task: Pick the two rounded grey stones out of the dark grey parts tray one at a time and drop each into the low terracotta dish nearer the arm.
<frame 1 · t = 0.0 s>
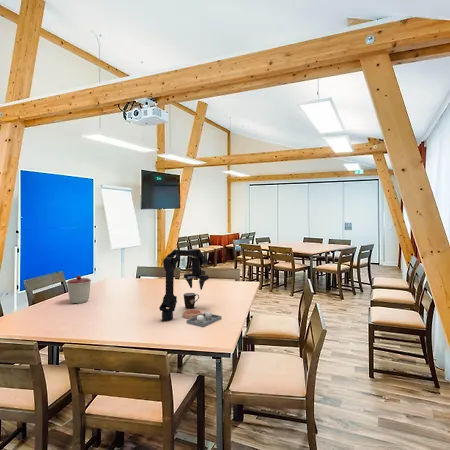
hand: (196, 288, 227), 15 cm above the table, fingers open, 9 cm apart
terracotta dish: (192, 316, 210), on the table
canister: (79, 302, 254), on the table
pebble light: (200, 322, 196), point 1 cm above the table, touching parts tray
coffee mug: (191, 308, 232), on the table
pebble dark: (208, 319, 203), point 1 cm above the table, touching parts tray
parts tray: (204, 322, 199), on the table
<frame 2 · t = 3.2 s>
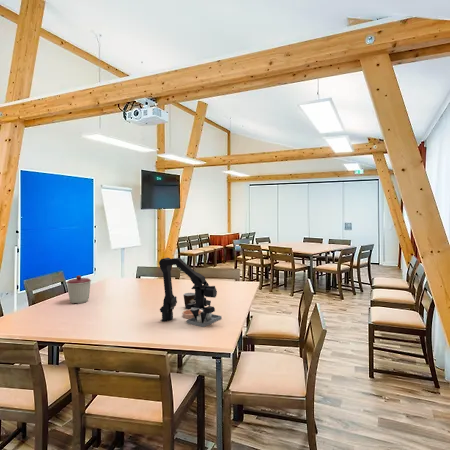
hand: (200, 321, 196), 1 cm above the table, fingers closed on pebble light, 4 cm apart
pebble light: (200, 322, 196), point 1 cm above the table, touching gripper, parts tray
everything else where it was.
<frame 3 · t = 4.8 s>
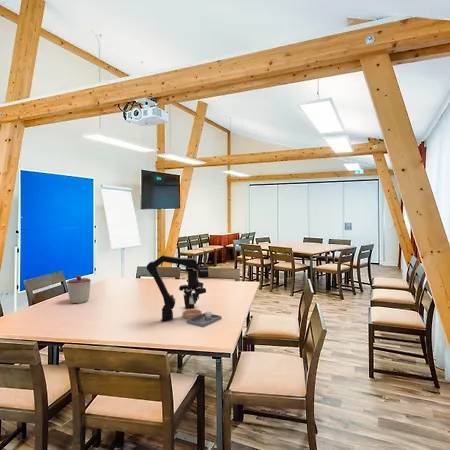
hand: (192, 302, 205), 11 cm above the table, fingers closed on pebble light, 4 cm apart
pebble light: (192, 303, 205), point 10 cm above the table, touching gripper
everything else where it was.
when the fingers open (4 cm above the table, at t = 6.4 s): pebble light drops 3 cm, resting on terracotta dish.
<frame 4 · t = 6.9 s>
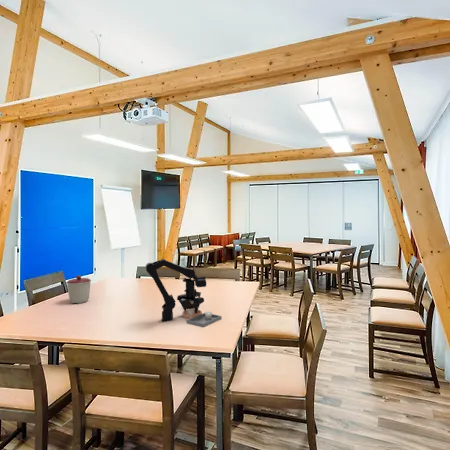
hand: (190, 312, 208), 4 cm above the table, fingers open, 9 cm apart
pebble light: (190, 316, 208), point 1 cm above the table, touching terracotta dish
everything else where it was.
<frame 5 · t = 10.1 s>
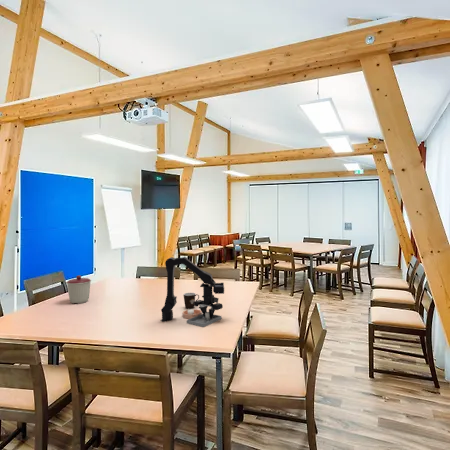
hand: (208, 318, 203), 1 cm above the table, fingers closed on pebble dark, 4 cm apart
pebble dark: (208, 319, 203), point 1 cm above the table, touching gripper, parts tray
everything else where it was.
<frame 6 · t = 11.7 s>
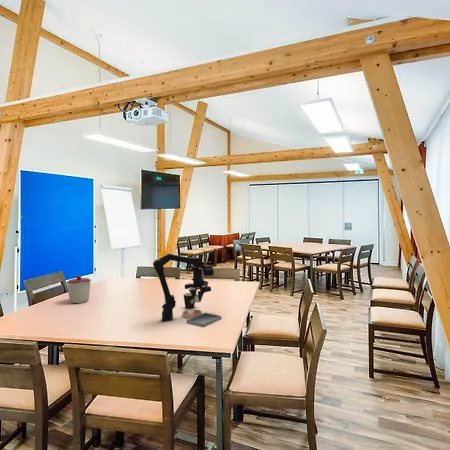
hand: (197, 300, 209), 11 cm above the table, fingers closed on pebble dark, 4 cm apart
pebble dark: (197, 301, 209), point 10 cm above the table, touching gripper
everything else where it was.
when the fingers open (4 cm above the table, at t = 13.4 s): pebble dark drops 2 cm, resting on terracotta dish.
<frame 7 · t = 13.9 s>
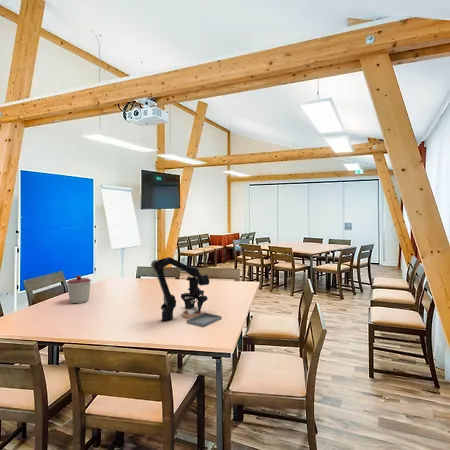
hand: (194, 310, 213), 4 cm above the table, fingers open, 9 cm apart
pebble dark: (194, 314, 213), point 1 cm above the table, touching terracotta dish
everything else where it was.
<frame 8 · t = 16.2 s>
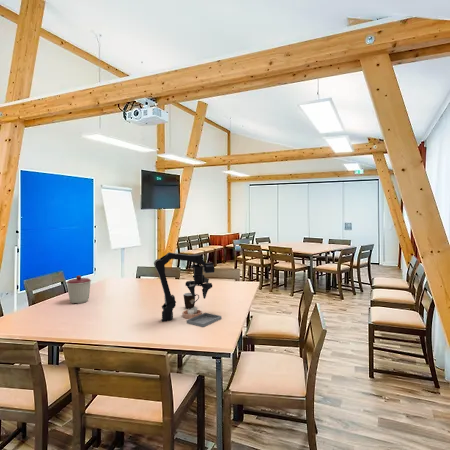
hand: (199, 297, 210), 12 cm above the table, fingers open, 9 cm apart
nothing on the table moved.
at the end: pebble light inside the target area on the terracotta dish (2.0 cm from its centre), point 0.8 cm above the terracotta dish's base; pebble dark inside the target area on the terracotta dish (2.7 cm from its centre), point 0.8 cm above the terracotta dish's base; the gripper is holding nothing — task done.
